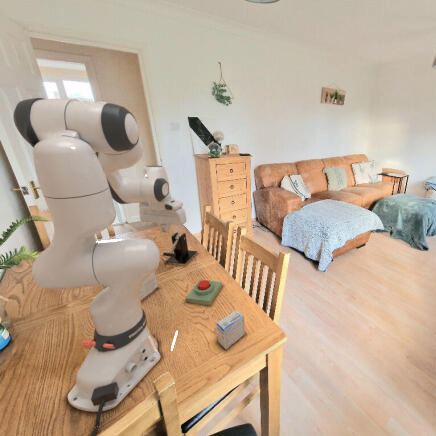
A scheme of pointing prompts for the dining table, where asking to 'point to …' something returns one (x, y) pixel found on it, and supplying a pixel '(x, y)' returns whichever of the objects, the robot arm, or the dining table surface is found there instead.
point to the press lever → (173, 247)
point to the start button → (204, 285)
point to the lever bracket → (181, 250)
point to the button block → (204, 293)
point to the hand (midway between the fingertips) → (165, 232)
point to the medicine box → (230, 329)
